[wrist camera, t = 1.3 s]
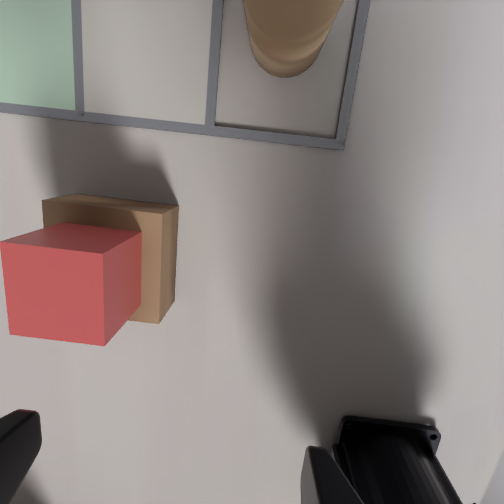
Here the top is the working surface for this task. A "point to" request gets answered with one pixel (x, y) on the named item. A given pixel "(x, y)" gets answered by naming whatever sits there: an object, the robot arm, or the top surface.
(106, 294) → the red block
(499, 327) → the top surface
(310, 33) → the beige wooden cylinder
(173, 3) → the board
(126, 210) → the tan wooden flat block
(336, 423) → the top surface
